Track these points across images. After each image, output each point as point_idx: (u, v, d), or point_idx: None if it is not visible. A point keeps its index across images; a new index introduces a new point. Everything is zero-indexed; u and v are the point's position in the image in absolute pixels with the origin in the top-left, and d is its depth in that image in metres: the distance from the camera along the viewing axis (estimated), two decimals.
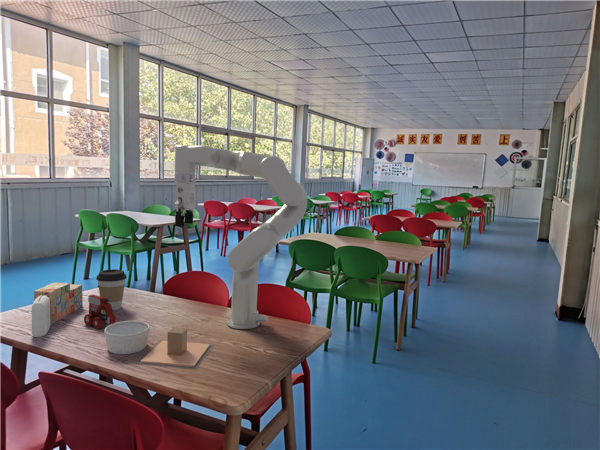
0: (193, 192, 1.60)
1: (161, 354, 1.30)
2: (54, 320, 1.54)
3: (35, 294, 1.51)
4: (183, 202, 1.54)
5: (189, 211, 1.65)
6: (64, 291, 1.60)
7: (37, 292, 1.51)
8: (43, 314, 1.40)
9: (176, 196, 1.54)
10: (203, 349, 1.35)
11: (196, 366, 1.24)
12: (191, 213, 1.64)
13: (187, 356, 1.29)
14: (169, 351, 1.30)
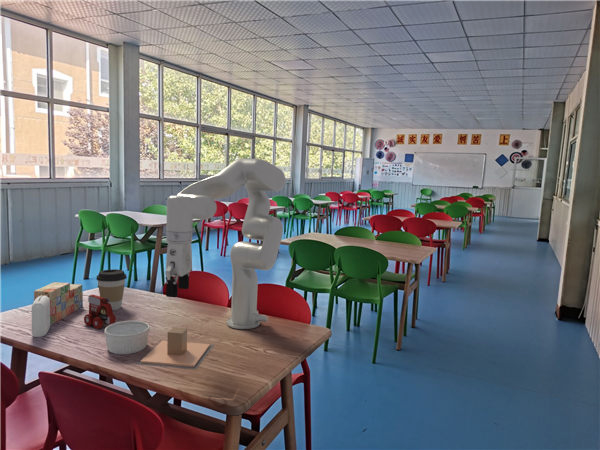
0: (189, 252, 1.30)
1: (161, 354, 1.30)
2: (54, 320, 1.54)
3: (35, 294, 1.51)
4: (176, 267, 1.24)
5: (184, 274, 1.34)
6: (64, 291, 1.60)
7: (37, 292, 1.51)
8: (43, 314, 1.40)
9: (168, 260, 1.24)
10: (203, 349, 1.35)
11: (196, 366, 1.24)
12: (186, 276, 1.34)
13: (187, 356, 1.29)
14: (169, 351, 1.30)
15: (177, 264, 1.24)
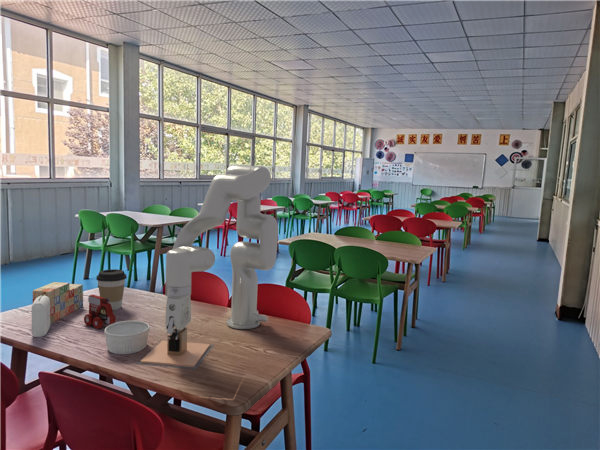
0: (188, 304, 1.31)
1: (161, 354, 1.30)
2: (52, 320, 1.54)
3: (34, 293, 1.52)
4: (176, 322, 1.25)
5: None
6: (63, 291, 1.60)
7: (35, 291, 1.52)
8: (43, 314, 1.40)
9: (167, 315, 1.26)
10: (203, 349, 1.35)
11: (196, 366, 1.24)
12: None
13: (187, 356, 1.29)
14: (169, 351, 1.30)
15: (176, 319, 1.25)
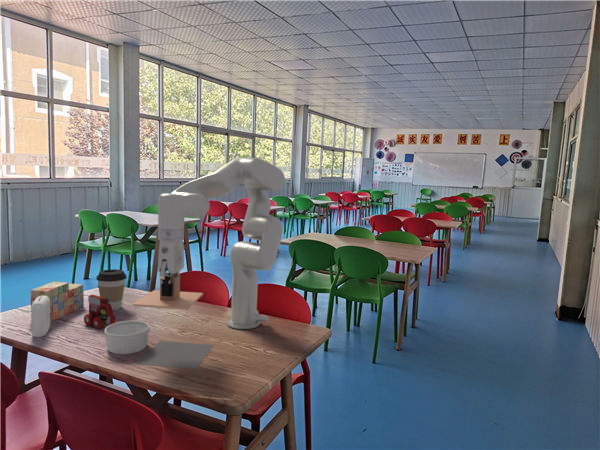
0: (181, 250, 1.30)
1: (154, 299, 1.28)
2: (50, 320, 1.54)
3: (32, 293, 1.52)
4: (168, 265, 1.24)
5: None
6: (62, 290, 1.60)
7: (34, 291, 1.52)
8: (43, 314, 1.40)
9: (160, 258, 1.24)
10: (196, 296, 1.33)
11: (196, 366, 1.24)
12: None
13: (180, 301, 1.28)
14: (161, 297, 1.28)
15: (169, 262, 1.24)
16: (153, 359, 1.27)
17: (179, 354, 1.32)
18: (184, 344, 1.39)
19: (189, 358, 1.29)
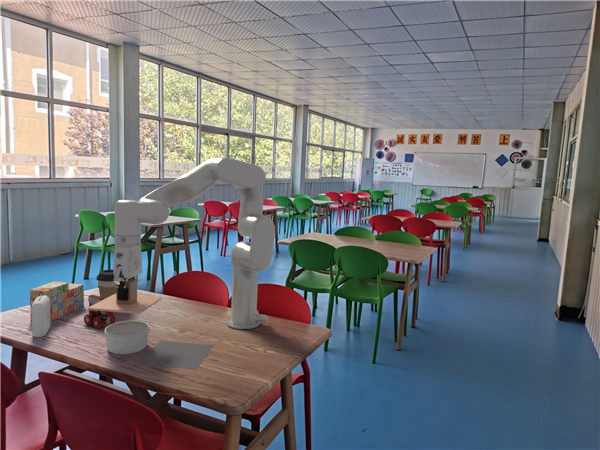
0: (138, 255, 1.33)
1: (110, 303, 1.31)
2: None
3: (31, 293, 1.53)
4: (123, 270, 1.27)
5: None
6: (61, 290, 1.60)
7: (33, 291, 1.52)
8: (43, 314, 1.40)
9: (115, 263, 1.27)
10: (153, 300, 1.36)
11: (196, 366, 1.24)
12: None
13: (135, 305, 1.31)
14: (118, 301, 1.31)
15: (124, 267, 1.27)
16: (153, 359, 1.27)
17: (179, 354, 1.32)
18: (184, 344, 1.39)
19: (189, 358, 1.29)
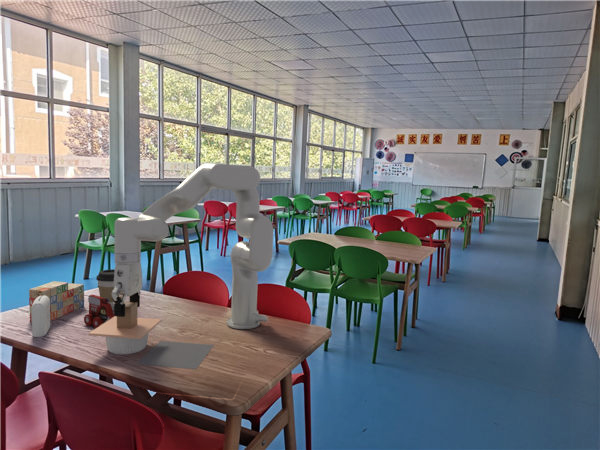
0: (138, 272, 1.34)
1: (111, 327, 1.32)
2: None
3: (30, 292, 1.53)
4: (123, 288, 1.28)
5: (135, 292, 1.38)
6: (61, 290, 1.60)
7: (32, 290, 1.53)
8: (43, 314, 1.40)
9: (115, 281, 1.28)
10: (154, 323, 1.37)
11: (196, 366, 1.24)
12: (137, 295, 1.38)
13: (136, 329, 1.32)
14: (118, 325, 1.32)
15: (124, 285, 1.28)
16: (153, 359, 1.27)
17: (179, 354, 1.32)
18: (184, 344, 1.39)
19: (189, 358, 1.29)
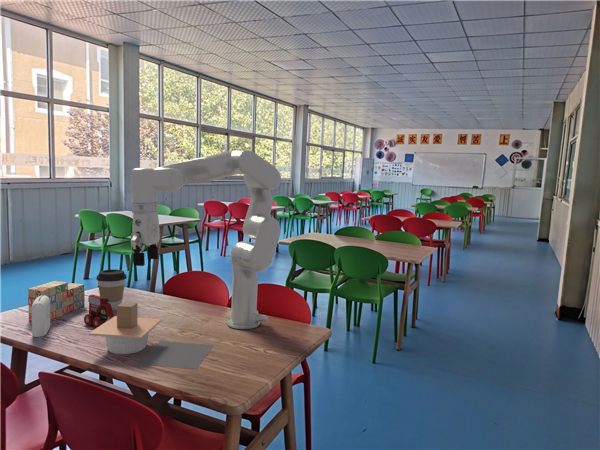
0: (155, 223, 1.34)
1: (111, 327, 1.32)
2: None
3: (29, 292, 1.53)
4: (142, 237, 1.28)
5: (153, 244, 1.39)
6: (60, 290, 1.61)
7: (31, 290, 1.53)
8: (43, 314, 1.40)
9: (133, 230, 1.28)
10: (154, 323, 1.38)
11: (196, 366, 1.24)
12: (155, 247, 1.39)
13: (136, 329, 1.32)
14: (118, 325, 1.32)
15: (142, 234, 1.28)
16: (153, 359, 1.27)
17: (179, 354, 1.32)
18: (184, 344, 1.39)
19: (189, 358, 1.29)
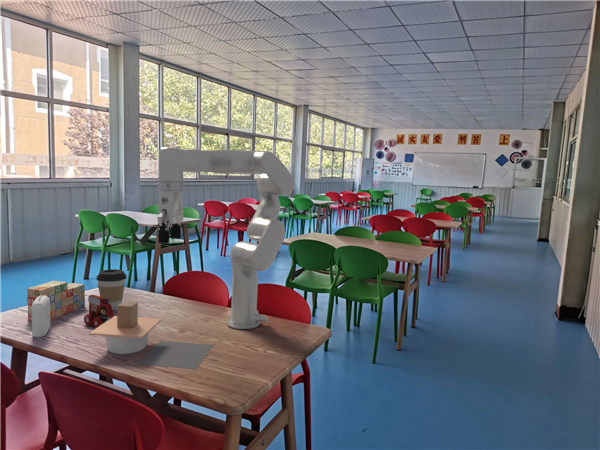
0: (180, 202, 1.36)
1: (111, 327, 1.32)
2: None
3: (28, 291, 1.54)
4: (168, 215, 1.30)
5: (176, 224, 1.41)
6: (59, 290, 1.61)
7: (30, 290, 1.54)
8: (43, 314, 1.40)
9: (160, 208, 1.31)
10: (154, 323, 1.38)
11: (196, 366, 1.24)
12: (178, 227, 1.41)
13: (136, 329, 1.32)
14: (118, 324, 1.32)
15: (169, 211, 1.30)
16: (153, 359, 1.27)
17: (179, 354, 1.32)
18: (184, 344, 1.39)
19: (189, 358, 1.29)
